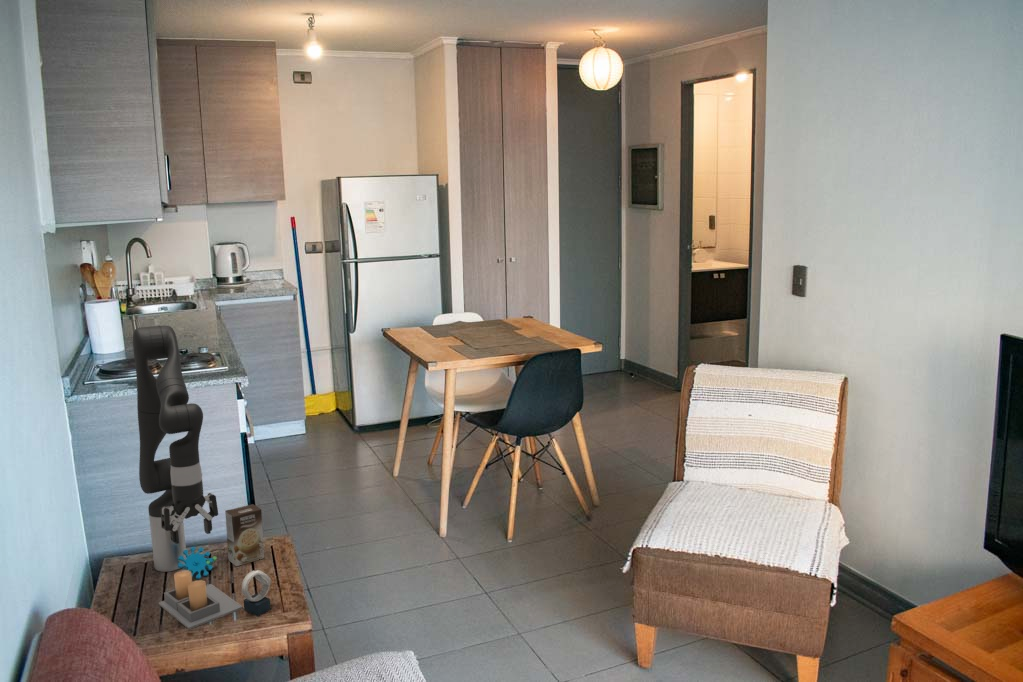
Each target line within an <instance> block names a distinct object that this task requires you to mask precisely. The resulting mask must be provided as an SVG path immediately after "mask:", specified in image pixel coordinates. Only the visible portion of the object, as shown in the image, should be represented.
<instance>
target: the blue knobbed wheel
mask: <svg viewBox="0 0 1023 682" xmlns="http://www.w3.org/2000/svg"><path fill="white" fill-rule="evenodd" d="M195 551H196V546H191V547H190V554H188V553H189V550H188V549H186V550H184V551H183V554H184V555H185V556H186V559H184V558H183V556H182V555H181V556H180V557H179V558H178V560H181V561H183V562H184V563H185V565H183V564H182V563H181V562H180V563H179V564H178V568H180V569H181V571H183V570H189V571H191V575H192V578H193V577H194V575H195V574H196V573H197V574H196V576H195V579H196V580H201V578H202V576H203V577H208V575H209V572H208V571H211V570H212V569H213V567H214V566H213V564H214V562H216V560H217V556H212V557H210V558H206V557H209V556H210V555H211V553H210V551H209V550H207V551H206V552H205V553H203V551H204V548H203V547H201V546H200V547H199V548H198V551H197V552H196V553H195ZM201 553H202V554H201ZM181 567H182V568H183V569H182V568H181ZM206 568H207V569H206ZM207 570H208V571H207ZM201 571H203V574H202V575H201Z"/></svg>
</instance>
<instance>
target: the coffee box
mask: <svg viewBox="0 0 1023 682" xmlns="http://www.w3.org/2000/svg"><path fill="white" fill-rule="evenodd" d="M262 517H263V516H262V509H261V508H260V507H259V506H257V505H255V504H254V503H253V504H252V503H251V504H248V505H244V506H243V505H242V506H240V507H235V508H232V509H227V510H225V527H226V540H227V556H228V561H229V562H230V563H232V564H233V566H235V567H238V566H242V565H245V564H246V565H247V564H249V563H252V562H256V561H260V560H262V559H265V550H264V549H265V547H264V534H263V533H264V531H263V518H262ZM259 559H260V560H259Z"/></svg>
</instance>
